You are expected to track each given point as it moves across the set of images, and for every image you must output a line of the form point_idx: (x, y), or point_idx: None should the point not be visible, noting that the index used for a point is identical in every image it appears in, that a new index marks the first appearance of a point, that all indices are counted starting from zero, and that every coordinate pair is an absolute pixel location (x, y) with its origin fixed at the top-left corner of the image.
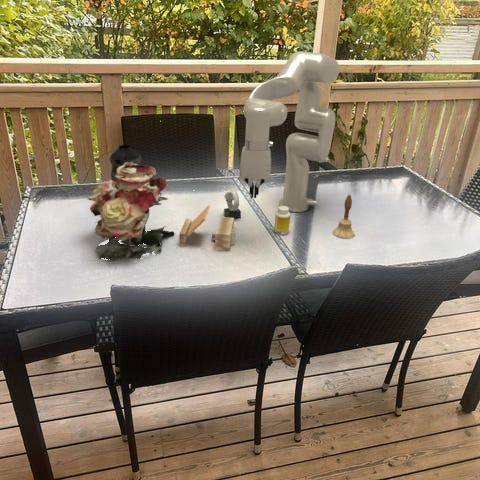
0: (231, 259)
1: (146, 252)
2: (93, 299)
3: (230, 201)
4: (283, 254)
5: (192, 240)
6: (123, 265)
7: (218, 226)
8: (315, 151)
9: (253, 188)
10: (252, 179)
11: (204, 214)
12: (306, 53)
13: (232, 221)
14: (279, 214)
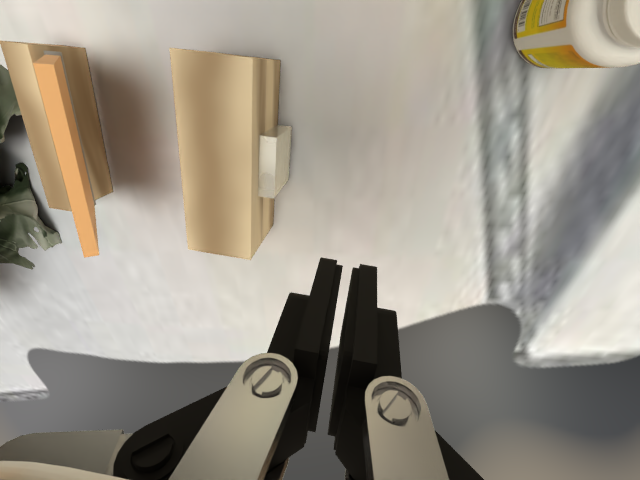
0: (284, 273)
1: (17, 232)
2: (31, 392)
3: None
4: (485, 247)
5: (121, 143)
6: (4, 292)
7: (185, 180)
8: None
9: (315, 426)
10: (273, 445)
11: (68, 194)
12: None
13: (248, 114)
14: (596, 41)
